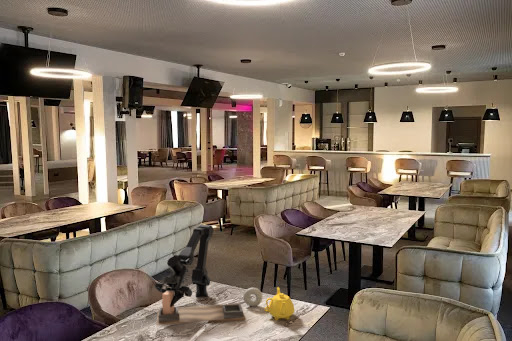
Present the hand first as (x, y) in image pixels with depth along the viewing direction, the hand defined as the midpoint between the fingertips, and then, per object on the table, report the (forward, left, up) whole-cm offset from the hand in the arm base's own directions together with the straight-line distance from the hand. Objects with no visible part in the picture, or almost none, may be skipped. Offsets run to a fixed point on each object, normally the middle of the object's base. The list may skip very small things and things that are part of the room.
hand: (166, 306), depth 198 cm
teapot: (+4, +55, -8) cm, 55 cm away
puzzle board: (-3, +16, -8) cm, 18 cm away
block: (-1, +1, -6) cm, 6 cm away
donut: (-10, +44, -8) cm, 46 cm away
